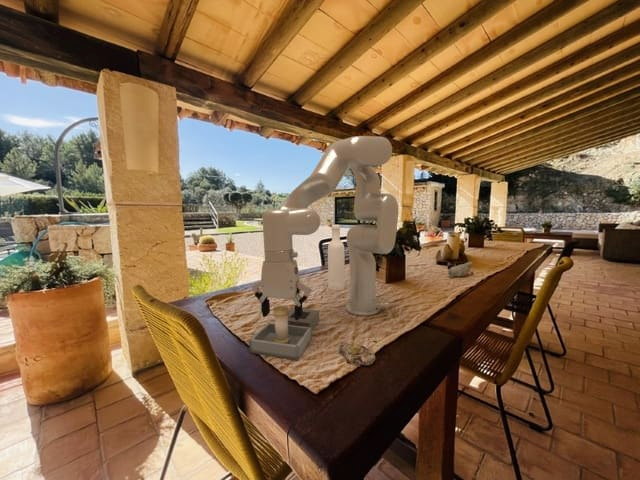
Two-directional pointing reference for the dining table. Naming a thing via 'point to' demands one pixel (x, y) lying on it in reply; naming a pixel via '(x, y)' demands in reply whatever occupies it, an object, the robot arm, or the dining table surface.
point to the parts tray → (266, 343)
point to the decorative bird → (460, 270)
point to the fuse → (281, 324)
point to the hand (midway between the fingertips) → (282, 316)
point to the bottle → (336, 261)
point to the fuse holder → (304, 318)
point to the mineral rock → (356, 354)
